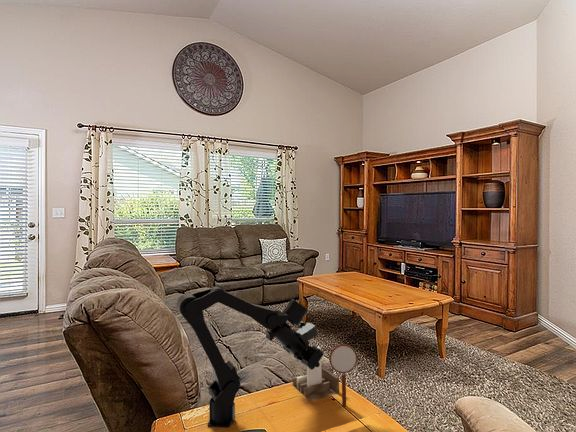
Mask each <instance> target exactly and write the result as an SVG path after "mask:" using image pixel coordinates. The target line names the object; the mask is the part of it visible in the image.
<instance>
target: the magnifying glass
mask: <svg viewBox="0 0 576 432" xmlns="http://www.w3.org/2000/svg"><path fill="white" fill-rule="evenodd" d="M357 362H358V354H357V352H356V350H355V349H354V348H353V347H352V346H350V344H345V343H342V344H338V345H336V346H335V347H333V349H332V350H331V351H330V354H329V364H330V367H332V369H333V370H334V371H335V372H337V373H340V374H341V394H342V395H341V398H342V399H341V403H342V404H341V405H342V407H343V408H346V407H347V384H346V383H347V380H346V376H347V375H346V374H347V373H350V372H351V371H353V370H354V368H355V367H356V365H357Z"/></svg>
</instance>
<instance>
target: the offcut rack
mask: <svg viewBox="0 0 576 432" xmlns="http://www.w3.org/2000/svg"><path fill="white" fill-rule="evenodd" d="M321 368H322V383H320V384H316V385H313V386H309V387H308V386H307V374H304V375H299V376H295V377H292V378H291V379H292V384H291V386H293V387H294V388H295V389H296V390H297V391H298V392H299V393H300V394H302V395H303V396H304V397H305V399H307V400H308V401H309V402H313V401H316V400H319V399H323V398H327V397H331V396H334V395H338V394H340V377H339V376H337V375H336V374H334V372H332V371H330V370H328V369H327V368H326V367H324V366H322V365H321Z"/></svg>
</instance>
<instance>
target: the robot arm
mask: <svg viewBox="0 0 576 432" xmlns="http://www.w3.org/2000/svg"><path fill="white" fill-rule="evenodd" d="M218 303H219V304H221V305H224V306H226V307H227V308H230V309H232V310H234V311H237V312H239V313H241V314H243V315H245V316H247V317H249V318H251V319H252V320H253V321H255V322H257V323H258V324H259V325H260V326H262V327H263V328H264V329H266V331H265V332H266V333H265V339H267V340H268V341H270V342H272V341H273V340H274V338H275V339H276V340H277V341H278V342H279V343H280V344H281V345H282V348H283V350H284V351H285V352H286V353H288V354H292V355H293V358H295V359H296V360H298V361H300V363H302V364H303V365H305V366H306V368H307V367H308V368H310V369H311V370H312V369H314V368H315V367H319V365H320V364H319V360H320V359H321V360H322V358H323V357H324V351H322V349H321V350H320V349H319V348H317V347H318V346H315V345H312V346H311V345H309V344H310V341H311V340H312V339H313V338H315V337H317V336H318V335H319V331H318V330H317V327H316V326H315V324H313V323H311V322H304V321H302V320H303V319H304V318H305V317H306V316H307V314H308V313H309V311H308V309H307V307H305V306H303V305H302V304H301V303H299V302H298V301H296V299H294V298H291V300H290V301H289V302H288V304H287V306H286V307H285V308H284V309H283V311H281V310H277V309H271V308H269V307H267V306H263V305H260V304H254V303H251V302H249V301H246V300H244V299H243V298H241V297H238V296H236V295H234V294H232V293H229V292H228V291H225V290H224V289H222V288H220V287H219V286H213V287H210V288H209V289H208V288H207V289H205V290H202V291H197V292H194V293H192V294H191V293H183V294H182V295H180V296H179V298H178V299H177V300H176V303H175V304H176V308H177V310H178V311H179V313H180V315H181V316H182V317H183V318H184V320H185V321H186V322H187V323H188V325H190V327H191V329H192V331H193V332H194V334H195V336H196V338H197V340H198V342H199V344H200V346H201V347H202V350H203V351H204V353H205V355H206V357H207V359H208V361H209V363H210V365H211V369H212V375H213V377H214V380H213V382H212V383H211V384H210V385H209V387H208V388H207V390H208V393H209V395H210V396H211V397H210V399H209V401H208V407H209V420H208V422H207V426H208V427H221V428H223V427H225V428H228V427H230V426H231V424H232V422H233V421H234V419H235V417H236V404H235V403H236V402H235V399H236V395H237V394H238V392H239V390H240V387H241V381H240V380H241V379H242V378H241V376H240V375H239V374H238V372H237V369H236V366H235V365H234V364H233V363H232V362H231V360H227V361H226V360H225V359H224V357H223V355H222V353H221V351H220V349H219V347H218V345H217V343H216V342H215V339H214V338H213V336H212V333H211V331H210V329H209V328H208V326H207V323H206V321H205V315H204V311H206V310H207V309H209V308H211V307H212V306H214V305H215V304H218ZM291 326H292V327H294V326H296V327H297V330H295V329H293V328H292V327H291ZM306 349H307V350H306Z"/></svg>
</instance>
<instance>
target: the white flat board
mask: <svg viewBox="0 0 576 432" xmlns="http://www.w3.org/2000/svg"><path fill="white" fill-rule="evenodd" d="M316 347H317V348H319V349H320V350H321V351H322V347H321V346H316ZM306 350H307V349H306ZM319 364H320V365H319V367H315V368H314V369H312V370H311V369H310V368H308V367H307V366H306V375H307V386H308V387H309V386H313V385H316V384H320V383H322V368H321V366H322V358H321V359H320V360H319Z"/></svg>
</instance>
